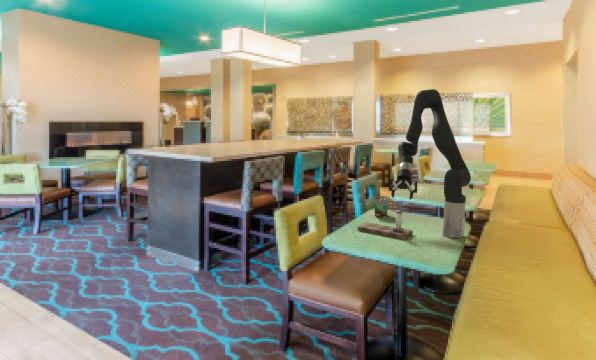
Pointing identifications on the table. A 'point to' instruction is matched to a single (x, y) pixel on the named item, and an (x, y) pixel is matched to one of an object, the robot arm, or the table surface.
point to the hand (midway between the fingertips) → (401, 198)
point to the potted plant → (381, 207)
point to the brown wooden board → (384, 230)
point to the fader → (398, 221)
